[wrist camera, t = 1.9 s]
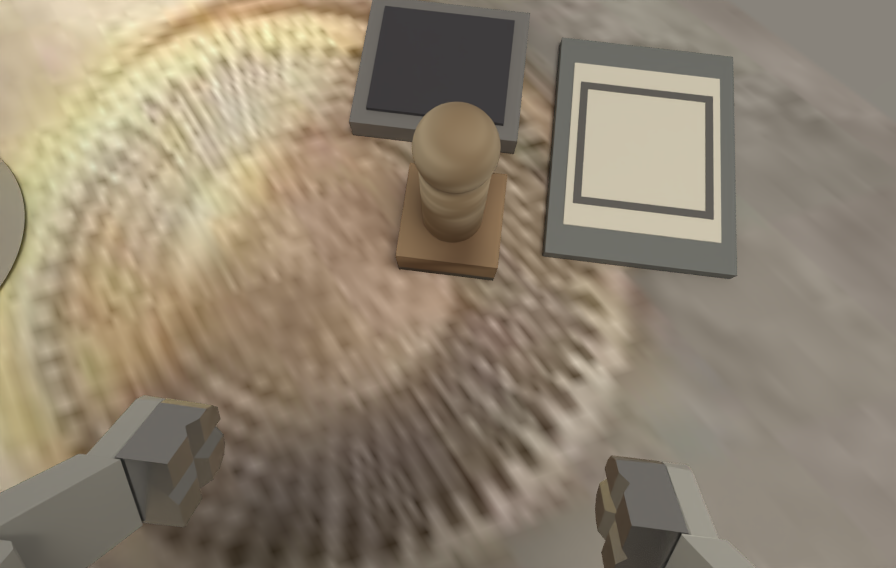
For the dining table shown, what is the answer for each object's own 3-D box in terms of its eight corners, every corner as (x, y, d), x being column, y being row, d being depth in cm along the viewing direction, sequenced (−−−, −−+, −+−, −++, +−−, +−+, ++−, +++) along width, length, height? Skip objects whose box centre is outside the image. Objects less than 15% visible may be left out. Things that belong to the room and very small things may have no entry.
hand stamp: (399, 268, 33) (374, 181, 21) (412, 183, 35) (396, 54, 22) (492, 280, 33) (523, 199, 21) (501, 193, 34) (535, 70, 22)
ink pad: (353, 134, 35) (348, 119, 33) (376, 12, 38) (372, -9, 36) (513, 153, 35) (517, 138, 33) (526, 29, 38) (530, 9, 36)
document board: (542, 255, 33) (545, 251, 32) (559, 45, 37) (562, 35, 36) (730, 278, 33) (738, 274, 32) (727, 64, 37) (734, 55, 36)
